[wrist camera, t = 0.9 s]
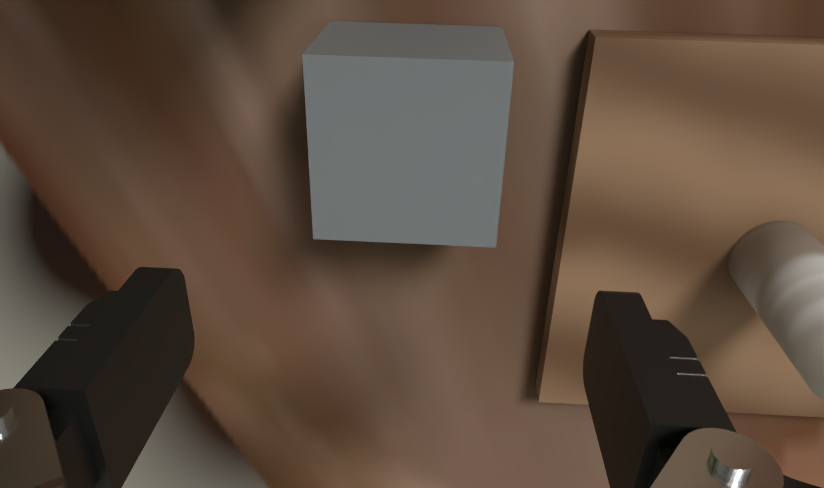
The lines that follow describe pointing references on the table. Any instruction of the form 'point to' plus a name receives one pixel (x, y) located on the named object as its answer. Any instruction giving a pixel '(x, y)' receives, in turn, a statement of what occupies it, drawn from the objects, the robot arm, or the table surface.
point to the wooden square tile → (699, 210)
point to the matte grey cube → (407, 132)
